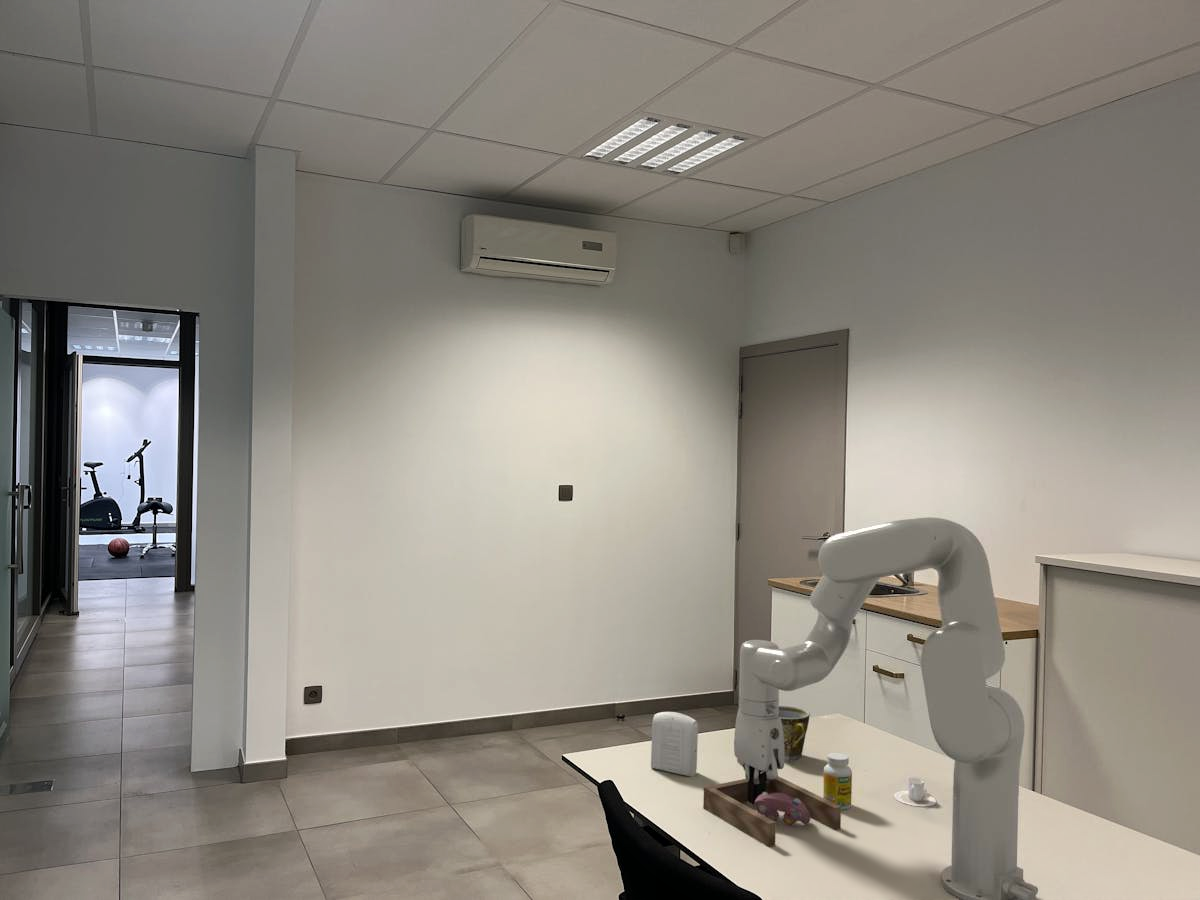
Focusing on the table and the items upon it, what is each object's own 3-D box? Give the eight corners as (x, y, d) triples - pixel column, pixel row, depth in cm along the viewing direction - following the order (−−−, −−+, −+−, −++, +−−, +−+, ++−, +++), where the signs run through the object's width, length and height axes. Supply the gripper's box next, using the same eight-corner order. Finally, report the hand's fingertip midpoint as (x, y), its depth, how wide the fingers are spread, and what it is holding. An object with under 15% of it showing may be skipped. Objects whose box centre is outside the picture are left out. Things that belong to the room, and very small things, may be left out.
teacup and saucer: (912, 789, 186) (912, 770, 186) (946, 802, 179) (947, 782, 179) (885, 798, 180) (886, 778, 180) (920, 812, 174) (921, 791, 174)
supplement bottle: (836, 797, 179) (837, 749, 179) (857, 807, 175) (858, 757, 175) (817, 803, 176) (818, 754, 176) (838, 812, 172) (839, 762, 172)
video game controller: (754, 826, 168) (750, 798, 165) (761, 808, 172) (757, 780, 169) (807, 838, 164) (803, 809, 161) (812, 819, 167) (809, 790, 164)
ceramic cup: (755, 750, 207) (756, 707, 207) (794, 747, 210) (795, 704, 210) (783, 770, 194) (784, 723, 194) (824, 766, 197) (825, 720, 197)
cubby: (840, 828, 164) (841, 806, 164) (768, 846, 156) (769, 823, 156) (771, 793, 181) (772, 773, 181) (703, 808, 172) (703, 787, 172)
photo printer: (699, 772, 192) (701, 714, 192) (691, 778, 188) (693, 719, 188) (656, 763, 197) (657, 706, 197) (647, 769, 193) (649, 711, 193)
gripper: (800, 714, 167) (798, 812, 167) (749, 694, 180) (746, 786, 180) (769, 719, 164) (766, 820, 164) (719, 698, 177) (716, 792, 177)
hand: (756, 802), depth 172 cm, fingers closed
